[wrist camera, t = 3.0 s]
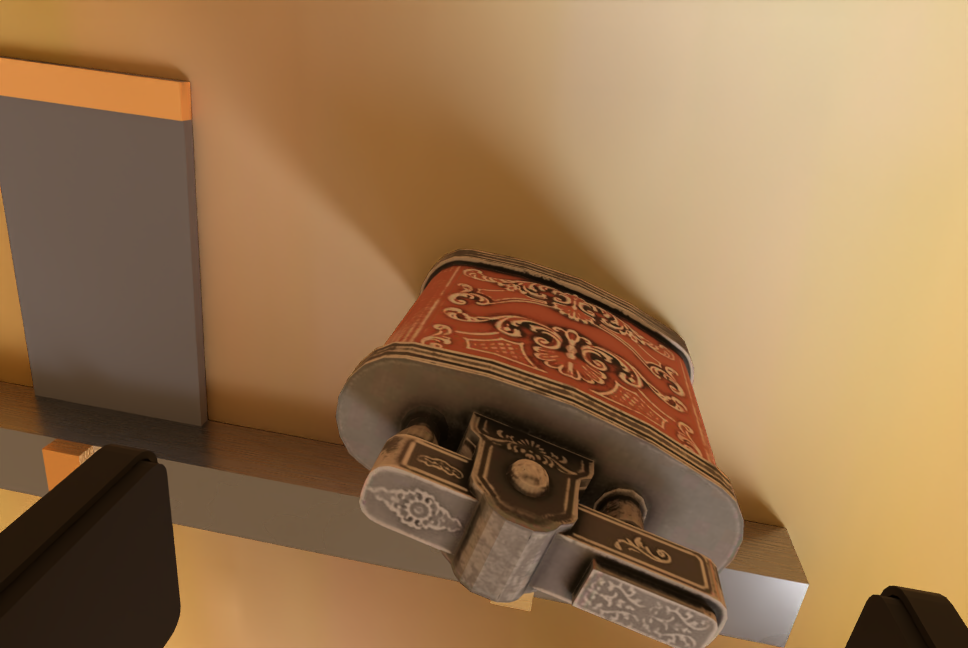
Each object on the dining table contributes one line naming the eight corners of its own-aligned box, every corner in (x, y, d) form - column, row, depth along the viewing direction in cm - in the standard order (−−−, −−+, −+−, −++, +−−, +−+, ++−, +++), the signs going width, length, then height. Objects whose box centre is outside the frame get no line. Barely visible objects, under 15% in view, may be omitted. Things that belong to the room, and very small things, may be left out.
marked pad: (190, 81, 18) (179, 82, 18) (208, 425, 23) (199, 432, 22) (-10, 54, 19) (-25, 54, 18) (44, 394, 23) (33, 401, 23)
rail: (786, 528, 21) (815, 600, 18) (764, 587, 22) (789, 665, 19) (-87, 365, 24) (-177, 406, 21) (-73, 423, 24) (-157, 470, 22)
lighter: (410, 325, 20) (256, 552, 11) (447, 223, 19) (307, 383, 10) (657, 427, 20) (712, 739, 11) (712, 332, 19) (827, 597, 10)
